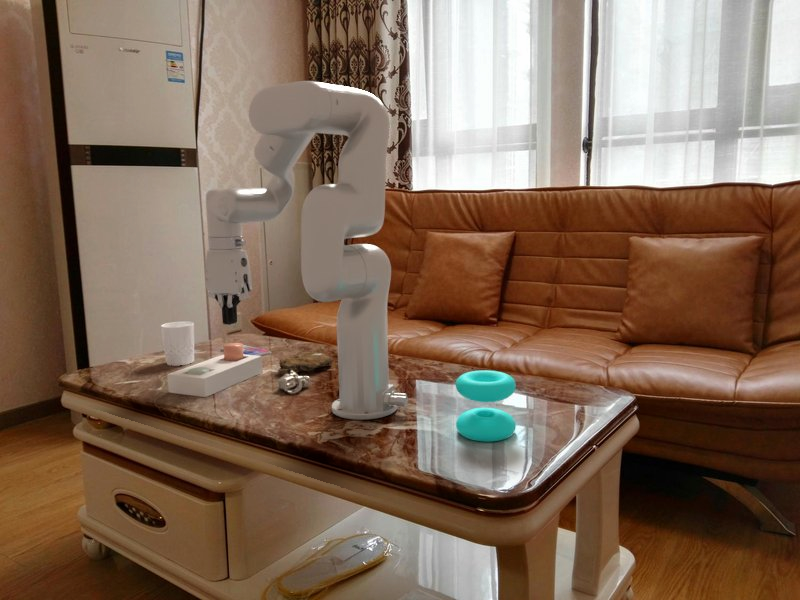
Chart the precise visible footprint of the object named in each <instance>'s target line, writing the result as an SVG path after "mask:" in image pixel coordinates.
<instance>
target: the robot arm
mask: <svg viewBox="0 0 800 600" xmlns="http://www.w3.org/2000/svg"><path fill="white" fill-rule="evenodd" d="M248 119H249V123H250V125H251V127H252V128H253V130H255V131H256V132H258V133H259V134H261V136H260V137H259V139H258V140H257V142H256V144H255V145H254V148H253V149H254V150H253V153H254V157H255V159H256V161H257V162H258V164H259V165H260V166H261V167H262V168H263V169H264V170H265V171H267V172H268V173H270V174H272V177H271V178H270V181H268V183H267V184H266V186H265V187H232V188H221V189H213V188H212V189H209V190H208V191H206V194H205V208H206V209H205V210H206V223H207V242H208V243H207V245H208V250H206V257H205V266H204V267H205V269H204V271H205V273H204V274H205V275H204V276H205V277H204V278H205V288H206V290H207V291H208V297H209V298H212V299H215V300H216V301H217V302H218V306H219V307H220V308H221V315H222V316H221V317H222V324H223V325H228V326H230V325H234V324H236V323H237V322H238V309H237V307H238V306H239V305H240V303H241V302H242V301H245V300H249V299H250V294H249V293H250V292H252V290H253V283H252V282H253V281H252V280H253V279H252V271H251V264H250V259H249V256H248V252H247V249H244V246H246V245H247V241H246V240H245V239H243V224H247V223H248V224H249V223H265V222H267V223H268V222H271V221H274V220H276V219H277V218H278V217H279V216H280V215H281V214H282V213H283V212H284V211H285V209H286V207H287V206H288V204H290V202H291V200H292V198H293V195H294V191H295V182H296V180H295V174H294V170H293V168H294V167H295V165H296V163H297V162H298V160H299V159H300V157H301V156H302V154H304V151H305V150H306V148H307V147H308V145H310V142H311V141H312V139H313V138H314V137H315V134H324V135H325V134H326V135H338V136H339V135H340V136H341V135H342V136H346V137H348V138H347V140H346V141H345V143H344V145H343V146H342V149H341V151H340V153H339V157H338V165H337V166H338V170H337V171H338V172H337V173H338V174H337V175H338V176H337V183H325V184H321V185H318V186H316V187H313V188H312V190H310V191H309V192H308V194H307V195H306V196H305V199H304V201H303V204H302V208H301V214H300V215H301V217H300V271H301V272H300V273H301V279H302V280H301V281H302V283H303V288H304V289H305V291H306V293H307V294H308V295H309V297H310V298H312V299H313V300H315V301H317V302H321V303H328V302H335V301H340V300H341V301H340V304H339V307H338V309H337V313H336V342H337V345H336V347H337V348H336V349H337V366H338V367H337V368H338V391H339V393H338V395H339V398H338V399H336V400H334V401H333V402H332V404H331V411H332V413H333V414H334V415H335V416H337V417H340V418H342V419H343V418H344V419H348V420H357V421H358V420H360V421H361V420H374V419H381V418H384V417H386V416H389V415H390V416H391V415H392V414H393V413H395V412H396V411H397V410H398V407H401V408H407V407H408V404H409V397H408V395H407V393H402V392H396V391H395V385H394V384H390V379H389V378H390V374H389V338H388V335H389V334H388V301H389V294H390V293H389V291H390V286H391V278H392V265H391V261H390V258H389V257H388V255H387V253H386V252H385V251H384V250H383V249H381V248H380V247H378V246H376V245H374V244H368V243H355V244H347V245H346V244H345V239H353V238H365V237H369V236H373V235H375V234H377V233H379V231H380V230H382V228H383V225H384V222H385V221H384V220H385V211H386V179H387V177H386V175H387V173H386V172H387V171H386V170H387V169H386V167H387V151H388V146H389V145H388V144H389V137H390V117H389V114H388V111H387V108H386V107H385V105H384V103H383V102H382V101H381V99H379V98H378V97H376V96H375V95H374V94H373V93H370V92H368V91H365V90H362V89H359V88H357V87H352V86H351V87H350V86H346V85H345V86H344V85H340V84H331V83H325V82H319V81H314V80H313V81H312V80H299V81H298V80H297V81H293V82H287V83H283V84H277V85H272V86H266V87H264V88H262V89H260V90H259V91H258V92H256V94H255V95H253V97H252V99H251V102H250V104H249V108H248ZM207 291H206V292H207Z"/></svg>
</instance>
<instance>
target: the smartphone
mask: <svg viewBox="0 0 800 600" xmlns="http://www.w3.org/2000/svg"><path fill="white" fill-rule="evenodd" d="M220 351H221V352H224V350H223V347H221V348H220ZM243 354H246V355H257V356H262V357H264V356H268V355H272V350H271V351H270V350H266V349H263V348H258V347H255V346H250V345H246V344H243Z"/></svg>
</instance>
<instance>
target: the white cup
mask: <svg viewBox="0 0 800 600" xmlns="http://www.w3.org/2000/svg"><path fill="white" fill-rule="evenodd" d="M160 329H161V336H162V345H163V350H164V356H165V362H166V365H167V366H171V365H172V366H173V367H178V366H179V367H180V365H182V366H186V365H190V363H191V364H194V362H195V323H194V322H193V321H182V320H181V321H172V322H165V323H163V324H161V325H160ZM172 366H171V367H172Z"/></svg>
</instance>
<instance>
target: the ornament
mask: <svg viewBox="0 0 800 600" xmlns="http://www.w3.org/2000/svg"><path fill="white" fill-rule="evenodd" d="M290 373H291V374H288V373H287V374H285V375H282V376H281V377H279V378H278V380H277V382H278V383H277V384H278V388H279V389H281V390H284V392H285V393H287V394H289V395H296V394H298V393H299V392H300V391H301V390H302V389H303V388H304V387H306V386H309V385H310V384H311V377H310V376H308V375H299V374H298V373H297V372H296V373H295V372H294V371H290Z"/></svg>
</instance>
